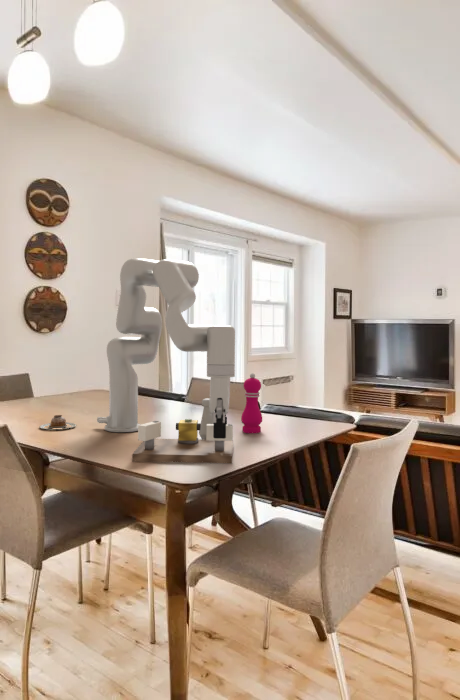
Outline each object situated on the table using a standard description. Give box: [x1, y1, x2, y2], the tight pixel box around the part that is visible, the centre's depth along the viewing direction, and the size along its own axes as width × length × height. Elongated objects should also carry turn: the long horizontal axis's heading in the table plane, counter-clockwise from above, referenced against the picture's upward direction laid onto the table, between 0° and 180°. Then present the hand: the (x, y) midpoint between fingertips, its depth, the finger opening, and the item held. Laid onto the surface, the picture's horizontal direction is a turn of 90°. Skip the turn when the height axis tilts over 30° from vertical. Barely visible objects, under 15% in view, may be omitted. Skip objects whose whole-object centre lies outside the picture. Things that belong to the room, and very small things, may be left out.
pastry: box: [39, 414, 77, 431], centre depth 174 cm, size 12×12×5 cm
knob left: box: [137, 420, 162, 450], centre depth 136 cm, size 7×3×7 cm, turn 153°
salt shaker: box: [198, 397, 215, 440], centre depth 158 cm, size 6×6×13 cm
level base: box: [131, 418, 234, 464], centre depth 140 cm, size 26×19×9 cm
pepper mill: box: [241, 373, 263, 434], centre depth 171 cm, size 7×7×20 cm
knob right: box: [206, 423, 234, 451], centre depth 136 cm, size 7×3×7 cm, turn 89°
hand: (220, 434), depth 135 cm, fingers open, 9 cm apart
